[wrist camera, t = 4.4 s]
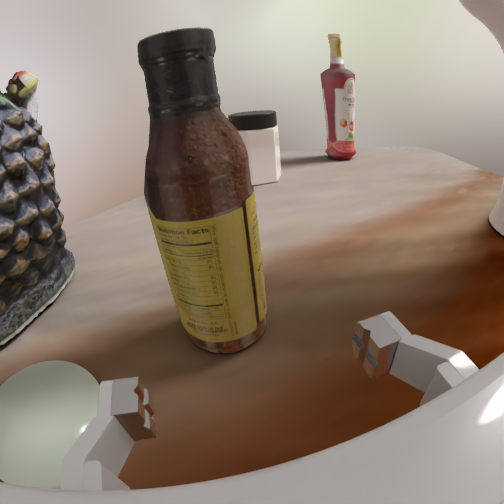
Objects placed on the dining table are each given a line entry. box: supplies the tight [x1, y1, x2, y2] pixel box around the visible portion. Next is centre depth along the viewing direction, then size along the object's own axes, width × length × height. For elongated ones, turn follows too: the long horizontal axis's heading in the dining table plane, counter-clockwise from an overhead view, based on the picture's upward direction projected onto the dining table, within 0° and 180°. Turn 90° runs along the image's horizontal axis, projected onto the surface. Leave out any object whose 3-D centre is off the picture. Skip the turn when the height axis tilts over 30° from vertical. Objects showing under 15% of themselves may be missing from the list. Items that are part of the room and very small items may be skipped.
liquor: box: [321, 34, 356, 160], centre depth 60 cm, size 7×7×28 cm
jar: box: [228, 111, 281, 186], centre depth 53 cm, size 9×8×12 cm
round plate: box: [0, 360, 100, 489], centre depth 15 cm, size 11×11×1 cm
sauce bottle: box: [138, 27, 267, 354], centre depth 18 cm, size 7×6×20 cm
